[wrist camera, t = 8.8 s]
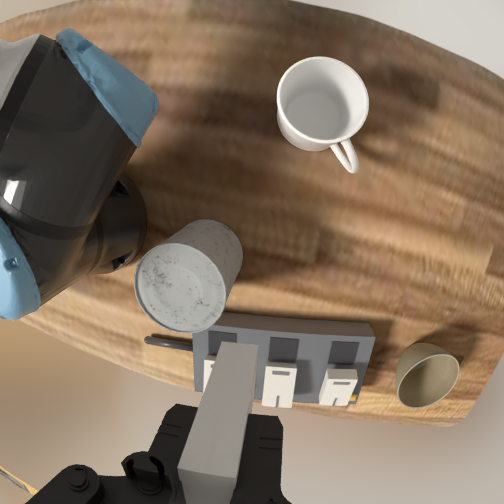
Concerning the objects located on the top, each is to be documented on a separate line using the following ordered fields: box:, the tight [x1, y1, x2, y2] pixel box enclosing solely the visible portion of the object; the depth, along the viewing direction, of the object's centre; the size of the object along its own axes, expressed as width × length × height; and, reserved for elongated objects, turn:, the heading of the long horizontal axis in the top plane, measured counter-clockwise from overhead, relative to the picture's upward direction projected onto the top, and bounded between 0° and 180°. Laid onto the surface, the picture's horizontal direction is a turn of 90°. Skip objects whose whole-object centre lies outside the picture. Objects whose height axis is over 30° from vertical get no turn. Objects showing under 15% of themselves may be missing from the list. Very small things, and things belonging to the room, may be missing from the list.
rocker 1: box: [203, 355, 217, 394], centre depth 41 cm, size 4×6×2 cm, turn 176°
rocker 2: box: [262, 361, 297, 408], centre depth 40 cm, size 4×6×2 cm, turn 176°
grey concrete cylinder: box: [134, 219, 243, 334], centre depth 36 cm, size 10×10×12 cm
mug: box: [277, 57, 369, 173], centre depth 30 cm, size 12×8×12 cm
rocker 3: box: [319, 369, 358, 406], centre depth 39 cm, size 4×6×2 cm, turn 176°
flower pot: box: [396, 343, 460, 409], centre depth 40 cm, size 10×10×7 cm
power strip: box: [144, 312, 376, 404], centre depth 43 cm, size 33×12×4 cm, turn 87°
